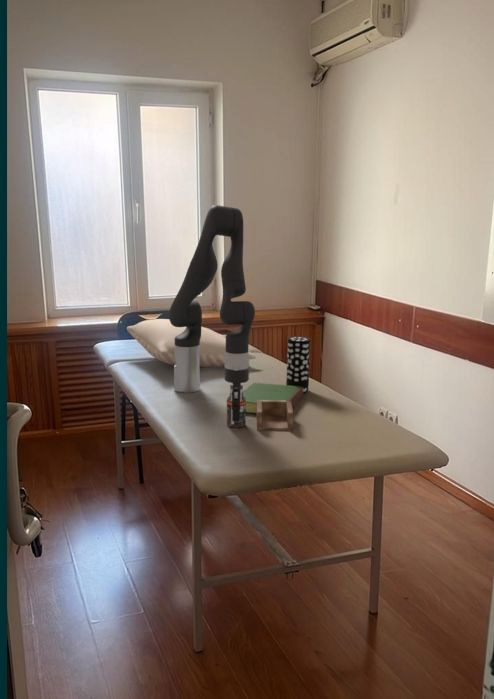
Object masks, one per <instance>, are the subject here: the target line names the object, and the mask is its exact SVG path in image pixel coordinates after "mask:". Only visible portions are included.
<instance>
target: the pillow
mask: <svg viewBox="0 0 494 699" xmlns="http://www.w3.org/2000/svg"><path fill="white" fill-rule="evenodd" d="M185 329H186V327H175V326H173V325H172V324H171V323H170V320H169V318H155V319H146V320H143V321H140V322H137V323H136V324H134V325H129V326H127V327H126V330H127V332H128V333H129V334H130V335H131V336H132V337H133V338H134V339H135V340H136V342H138V343H139V345H140V346H142V348H143V349H145V351H146V352H147V353H149V355H151V356H152V357H153V358H155V359H157V360H159V361H161V362H163V363H166V364H169V365H172V366H175V337H176V336H177V335H179V334H181V333H182V332H183V331H184V330H185ZM225 352H226V336H224V335H222V334H220V333H219V332H216V331H214V330H212V329H210V328H208V327H204V326H201V338H200V368H201V367H202V368H213V367H225ZM248 354H249V360H255V359H257V356H256V355H255V354H253V353H252V352H251V351H249V350H248Z"/></svg>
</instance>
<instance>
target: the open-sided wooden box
mask: <svg viewBox="0 0 494 699" xmlns="http://www.w3.org/2000/svg"><path fill="white" fill-rule="evenodd" d="M293 426H294V411H293V408H292V404H291V400H257V414H256V431H293V429H294V428H293Z"/></svg>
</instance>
